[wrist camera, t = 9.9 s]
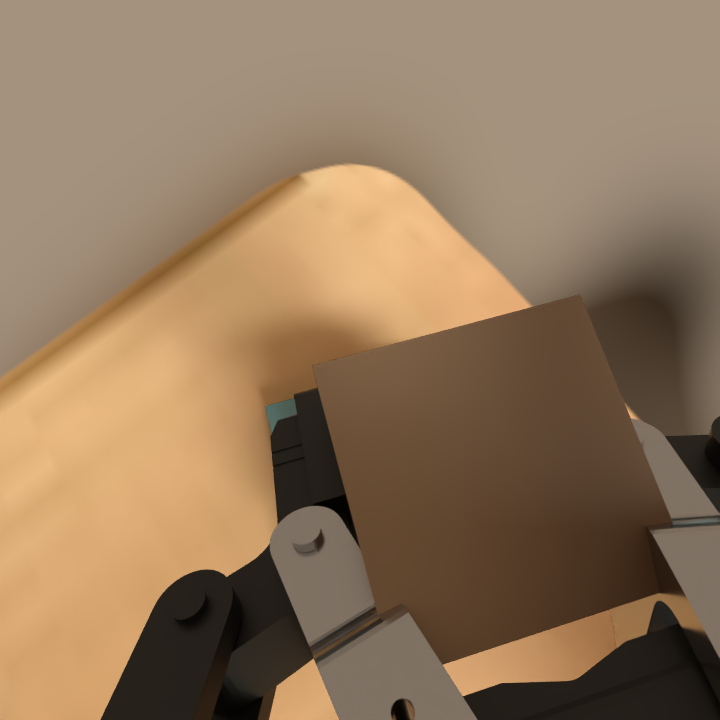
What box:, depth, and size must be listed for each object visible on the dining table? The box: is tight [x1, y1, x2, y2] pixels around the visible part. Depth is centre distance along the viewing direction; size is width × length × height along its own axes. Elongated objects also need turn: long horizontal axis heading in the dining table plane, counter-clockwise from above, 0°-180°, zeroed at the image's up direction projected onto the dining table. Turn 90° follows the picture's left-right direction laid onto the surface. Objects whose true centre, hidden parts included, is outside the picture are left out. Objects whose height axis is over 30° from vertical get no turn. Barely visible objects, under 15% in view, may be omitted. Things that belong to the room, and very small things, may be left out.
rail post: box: [312, 295, 673, 665], centre depth 11 cm, size 4×4×10 cm
